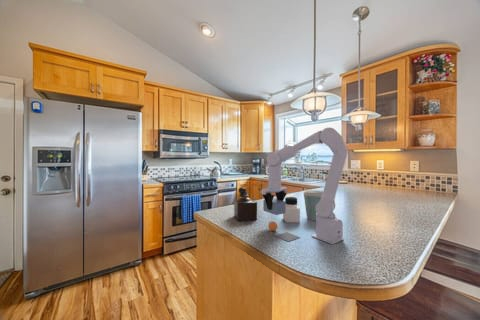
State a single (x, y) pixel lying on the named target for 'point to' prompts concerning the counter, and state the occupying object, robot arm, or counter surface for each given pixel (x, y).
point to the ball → (272, 226)
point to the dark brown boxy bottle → (245, 207)
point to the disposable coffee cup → (312, 202)
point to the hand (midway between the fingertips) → (274, 208)
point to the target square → (287, 236)
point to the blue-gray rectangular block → (275, 207)
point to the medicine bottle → (291, 210)
